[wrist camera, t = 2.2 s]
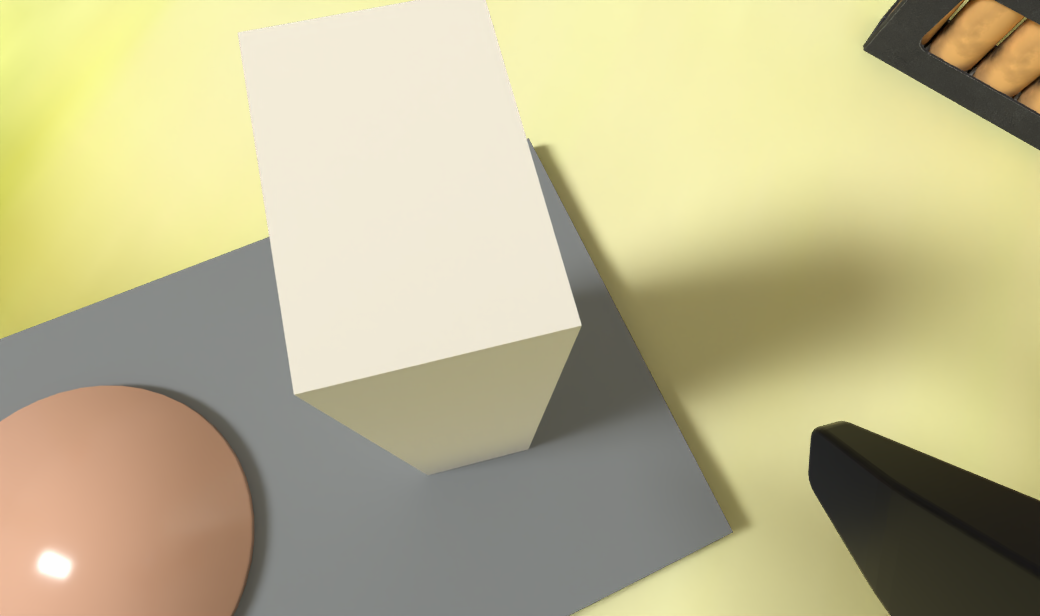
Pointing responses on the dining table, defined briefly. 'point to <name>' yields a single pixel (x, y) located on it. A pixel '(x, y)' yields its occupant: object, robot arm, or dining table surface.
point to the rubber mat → (386, 478)
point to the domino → (408, 230)
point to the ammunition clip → (970, 56)
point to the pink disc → (120, 509)
